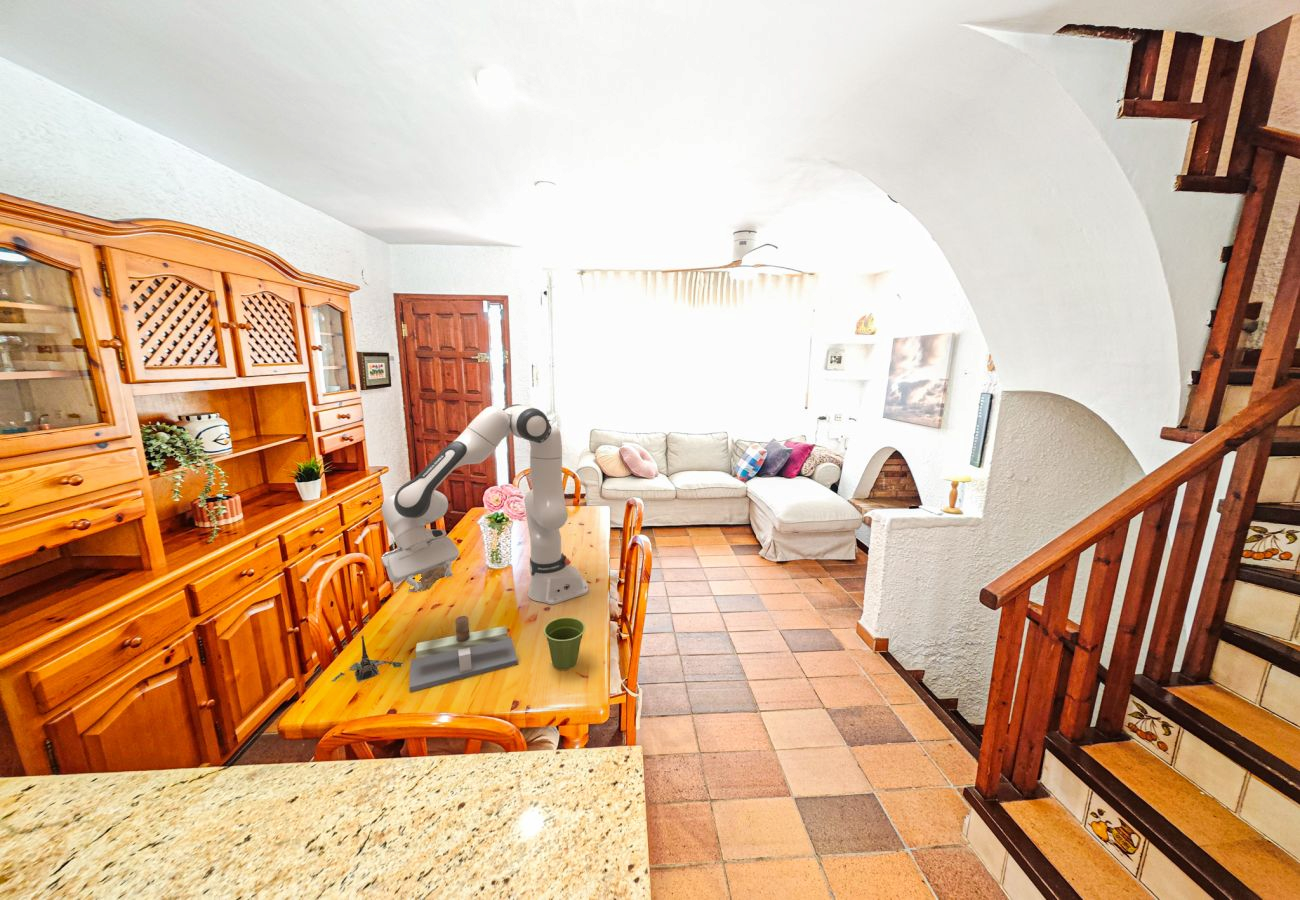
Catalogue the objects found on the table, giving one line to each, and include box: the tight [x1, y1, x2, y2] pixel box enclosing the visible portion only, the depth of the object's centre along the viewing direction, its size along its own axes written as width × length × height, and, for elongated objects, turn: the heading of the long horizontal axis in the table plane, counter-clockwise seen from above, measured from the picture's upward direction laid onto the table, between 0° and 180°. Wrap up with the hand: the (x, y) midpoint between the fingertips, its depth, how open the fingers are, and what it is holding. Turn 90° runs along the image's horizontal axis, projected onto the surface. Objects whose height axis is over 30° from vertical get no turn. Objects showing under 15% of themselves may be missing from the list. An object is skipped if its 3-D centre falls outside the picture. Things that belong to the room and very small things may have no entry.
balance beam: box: [415, 615, 509, 659], centre depth 131 cm, size 24×4×8 cm, turn 113°
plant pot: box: [543, 616, 586, 671], centre depth 134 cm, size 12×12×11 cm
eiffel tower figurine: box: [331, 634, 404, 683], centre depth 128 cm, size 15×10×13 cm
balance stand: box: [408, 636, 519, 693], centre depth 132 cm, size 28×12×6 cm, turn 115°
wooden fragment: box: [408, 565, 447, 593], centre depth 183 cm, size 26×11×1 cm, turn 174°
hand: (435, 582), depth 135 cm, fingers open, 8 cm apart
